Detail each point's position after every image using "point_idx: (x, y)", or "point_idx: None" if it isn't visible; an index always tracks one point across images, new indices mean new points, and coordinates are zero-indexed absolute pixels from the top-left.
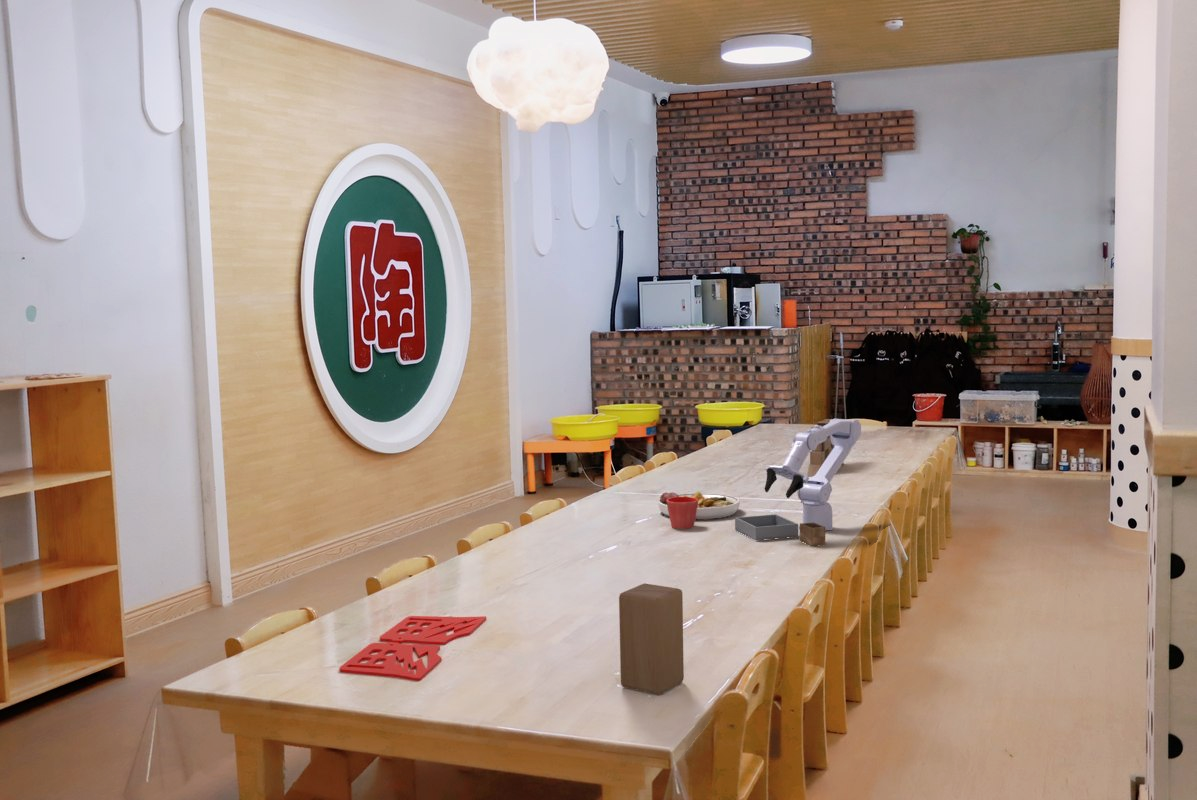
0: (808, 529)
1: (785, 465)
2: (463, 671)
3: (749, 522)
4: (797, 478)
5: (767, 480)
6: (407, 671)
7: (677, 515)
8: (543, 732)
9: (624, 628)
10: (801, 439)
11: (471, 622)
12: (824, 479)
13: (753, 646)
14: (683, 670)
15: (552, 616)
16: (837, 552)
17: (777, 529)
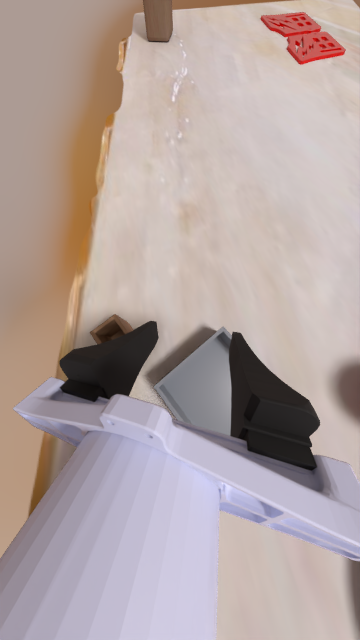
0: (122, 323)
1: (136, 403)
2: (250, 27)
3: None
4: (85, 349)
5: (248, 351)
6: (272, 17)
7: None
8: (182, 9)
9: None
10: None
11: (300, 53)
12: None
13: (126, 74)
14: (146, 28)
15: (265, 76)
16: (88, 300)
17: (189, 355)
